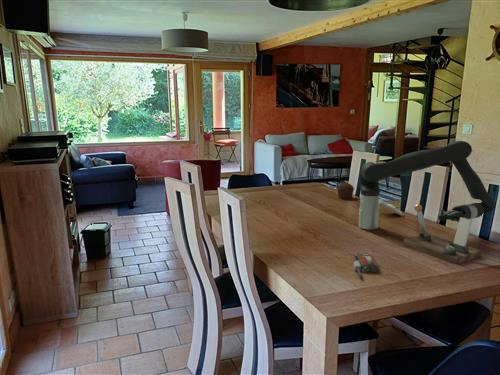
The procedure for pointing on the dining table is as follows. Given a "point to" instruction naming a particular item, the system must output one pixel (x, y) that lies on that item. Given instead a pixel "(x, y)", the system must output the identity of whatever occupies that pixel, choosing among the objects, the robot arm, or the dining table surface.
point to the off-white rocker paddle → (462, 232)
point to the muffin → (345, 191)
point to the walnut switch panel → (442, 248)
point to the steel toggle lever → (421, 219)
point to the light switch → (391, 207)
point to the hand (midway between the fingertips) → (440, 218)
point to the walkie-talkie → (365, 264)
